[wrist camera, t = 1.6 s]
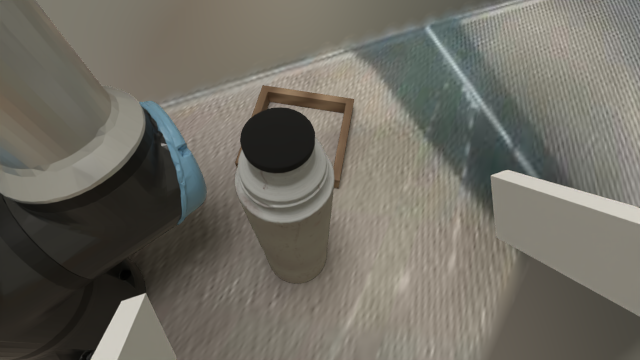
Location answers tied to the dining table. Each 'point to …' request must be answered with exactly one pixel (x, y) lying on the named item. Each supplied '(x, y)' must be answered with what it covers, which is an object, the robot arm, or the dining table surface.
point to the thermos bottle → (286, 191)
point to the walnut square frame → (314, 102)
